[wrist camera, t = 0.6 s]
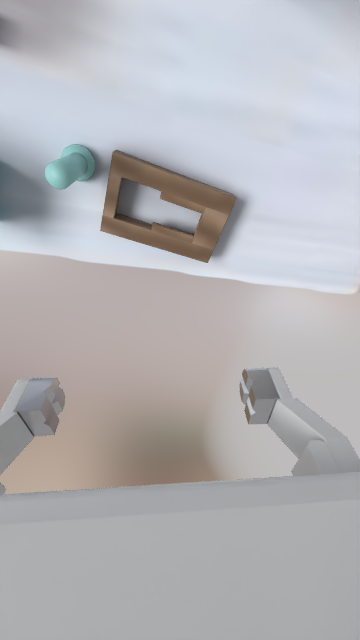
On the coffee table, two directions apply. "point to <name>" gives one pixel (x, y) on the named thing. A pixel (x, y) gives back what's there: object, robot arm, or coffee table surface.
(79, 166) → the peg
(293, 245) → the coffee table surface
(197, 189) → the keyhole plate
